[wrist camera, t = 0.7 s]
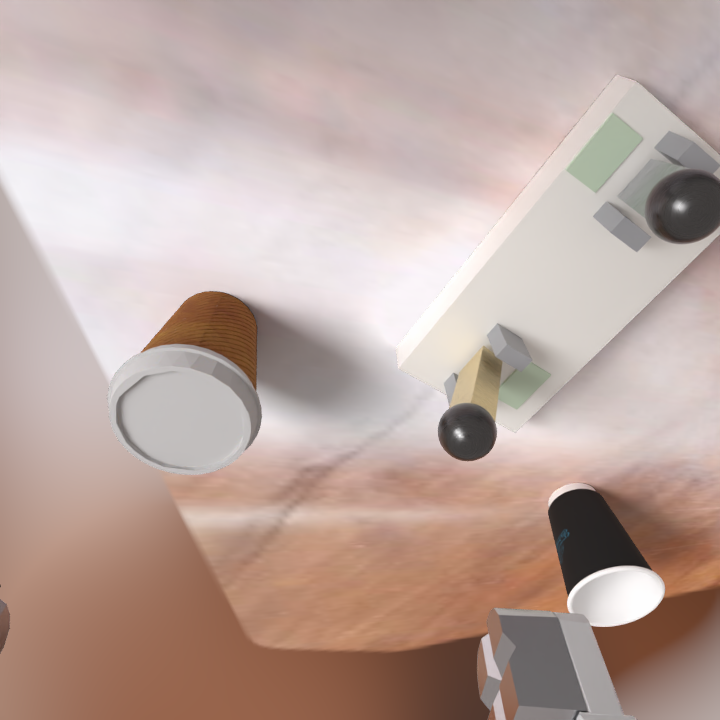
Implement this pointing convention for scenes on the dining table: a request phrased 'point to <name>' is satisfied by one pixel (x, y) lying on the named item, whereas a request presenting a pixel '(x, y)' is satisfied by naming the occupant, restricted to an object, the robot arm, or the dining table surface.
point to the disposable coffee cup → (191, 389)
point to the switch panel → (562, 260)
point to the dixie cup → (600, 560)
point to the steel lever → (675, 201)
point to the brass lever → (473, 409)
